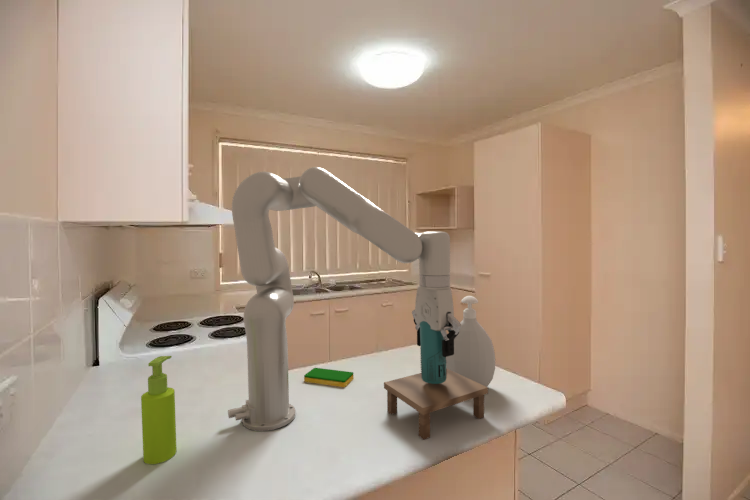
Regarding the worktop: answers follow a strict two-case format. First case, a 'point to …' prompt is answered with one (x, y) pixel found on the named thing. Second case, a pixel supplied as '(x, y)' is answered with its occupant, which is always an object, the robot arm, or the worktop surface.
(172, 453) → the soap dispenser
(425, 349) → the beverage bottle
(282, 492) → the worktop surface
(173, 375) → the worktop surface
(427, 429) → the footstool
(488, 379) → the soap bottle
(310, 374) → the dish sponge
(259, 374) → the robot arm
